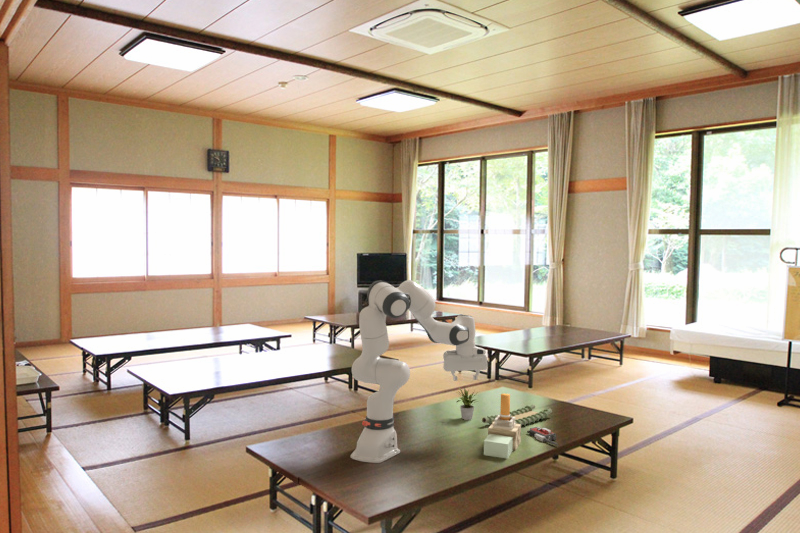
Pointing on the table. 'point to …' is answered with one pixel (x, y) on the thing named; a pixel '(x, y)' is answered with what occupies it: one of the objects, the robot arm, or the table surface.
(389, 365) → the robot arm
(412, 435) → the table surface
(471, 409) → the house plant
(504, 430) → the tan stepped block
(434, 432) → the table surface
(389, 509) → the table surface
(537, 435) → the walkie-talkie
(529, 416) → the stretcher
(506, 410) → the orange cylinder
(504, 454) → the block
